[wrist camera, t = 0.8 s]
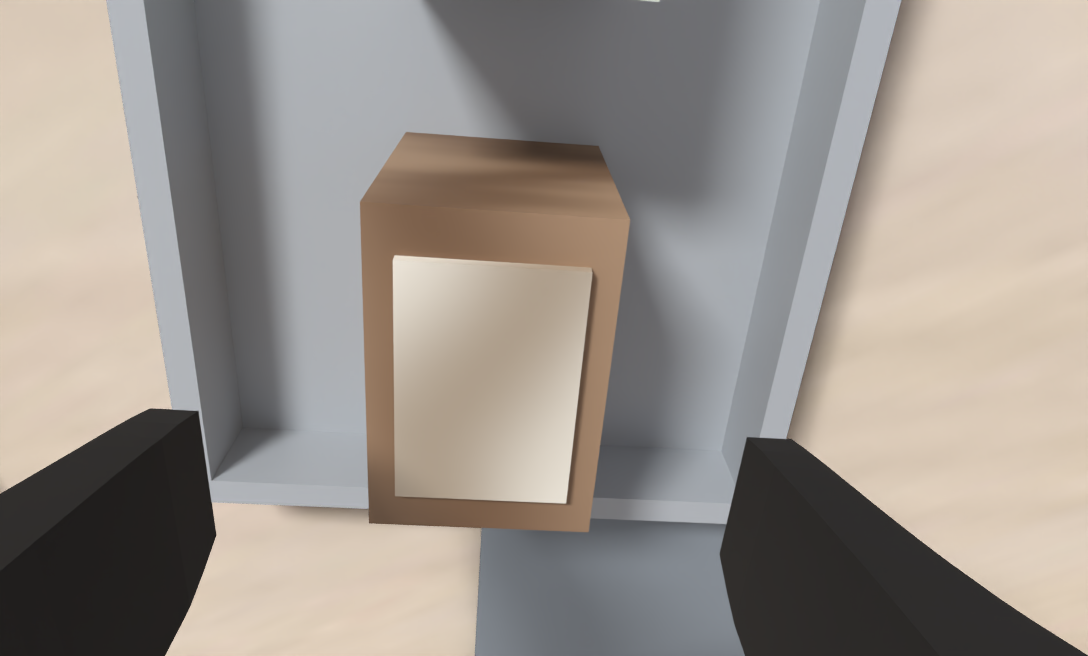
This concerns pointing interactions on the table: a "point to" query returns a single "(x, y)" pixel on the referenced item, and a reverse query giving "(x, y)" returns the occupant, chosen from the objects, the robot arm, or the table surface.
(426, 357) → the labelled block
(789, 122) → the grey bin
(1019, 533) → the table surface
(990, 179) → the table surface
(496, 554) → the slate mat
